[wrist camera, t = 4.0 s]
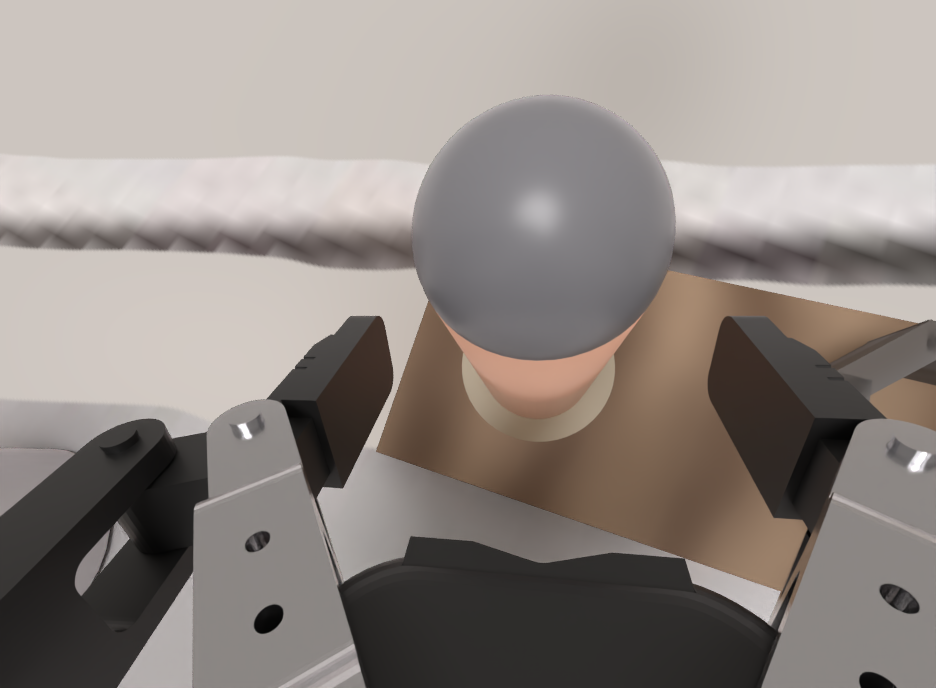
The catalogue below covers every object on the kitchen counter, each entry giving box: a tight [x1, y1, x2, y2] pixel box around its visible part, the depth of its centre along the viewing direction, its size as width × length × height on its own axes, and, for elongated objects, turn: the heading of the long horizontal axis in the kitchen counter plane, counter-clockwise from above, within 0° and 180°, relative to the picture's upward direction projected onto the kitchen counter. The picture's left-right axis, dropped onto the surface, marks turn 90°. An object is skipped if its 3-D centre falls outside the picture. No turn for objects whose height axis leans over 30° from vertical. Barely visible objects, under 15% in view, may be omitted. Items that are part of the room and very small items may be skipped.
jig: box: [376, 271, 936, 591], centre depth 18 cm, size 28×12×4 cm, turn 73°
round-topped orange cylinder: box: [412, 95, 676, 419], centre depth 13 cm, size 5×5×14 cm
